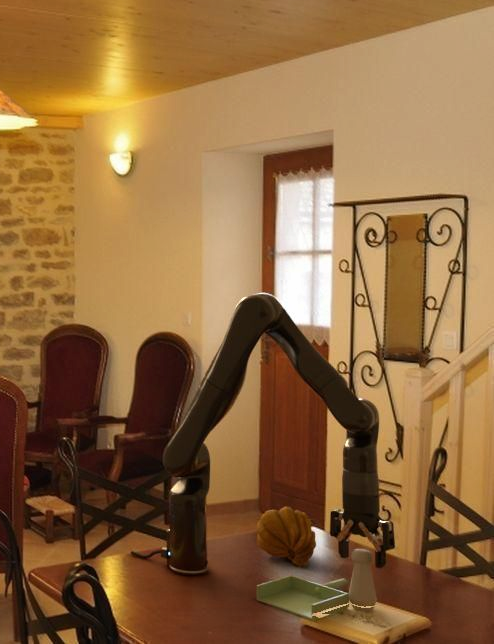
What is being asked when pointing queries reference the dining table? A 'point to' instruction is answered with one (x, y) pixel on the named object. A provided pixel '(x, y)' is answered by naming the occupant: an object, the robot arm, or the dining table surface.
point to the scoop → (304, 596)
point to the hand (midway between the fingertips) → (362, 562)
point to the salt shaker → (362, 581)
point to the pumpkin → (287, 535)
